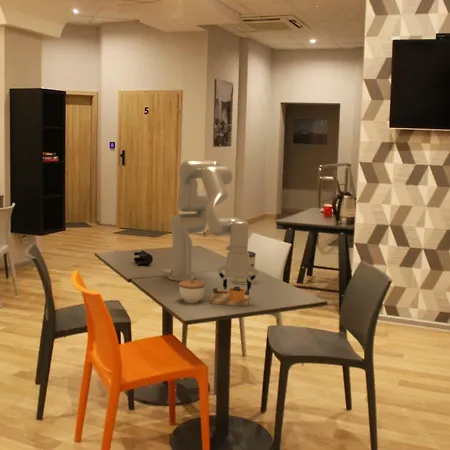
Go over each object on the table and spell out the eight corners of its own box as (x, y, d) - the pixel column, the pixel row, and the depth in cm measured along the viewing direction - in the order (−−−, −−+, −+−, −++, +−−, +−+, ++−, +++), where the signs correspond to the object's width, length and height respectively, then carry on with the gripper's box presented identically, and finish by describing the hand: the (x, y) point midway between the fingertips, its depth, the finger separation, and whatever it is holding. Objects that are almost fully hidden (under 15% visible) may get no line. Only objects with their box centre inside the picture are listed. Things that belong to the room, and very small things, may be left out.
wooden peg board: (208, 303, 266) (209, 288, 265) (213, 294, 280) (213, 280, 279) (247, 306, 265) (247, 290, 264) (249, 297, 279) (250, 282, 278)
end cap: (152, 266, 332) (153, 253, 331) (139, 267, 329) (140, 254, 328) (146, 262, 341) (146, 249, 340) (133, 263, 338) (133, 250, 337)
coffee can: (236, 278, 313) (237, 250, 311) (256, 280, 310) (257, 252, 308) (230, 282, 303) (231, 253, 301) (251, 285, 300) (253, 255, 298)
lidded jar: (209, 301, 270) (210, 279, 268) (191, 306, 262) (192, 283, 260) (191, 296, 277) (192, 275, 275) (173, 300, 269) (174, 278, 267)
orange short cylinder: (228, 300, 267) (228, 290, 267) (229, 296, 274) (230, 287, 273) (243, 301, 266) (243, 291, 266) (244, 297, 273) (245, 288, 272)
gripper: (216, 250, 264) (215, 290, 267) (258, 252, 262) (256, 293, 265) (219, 246, 271) (217, 286, 274) (259, 249, 270) (257, 288, 272)
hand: (236, 289), depth 269 cm, fingers open, 9 cm apart
